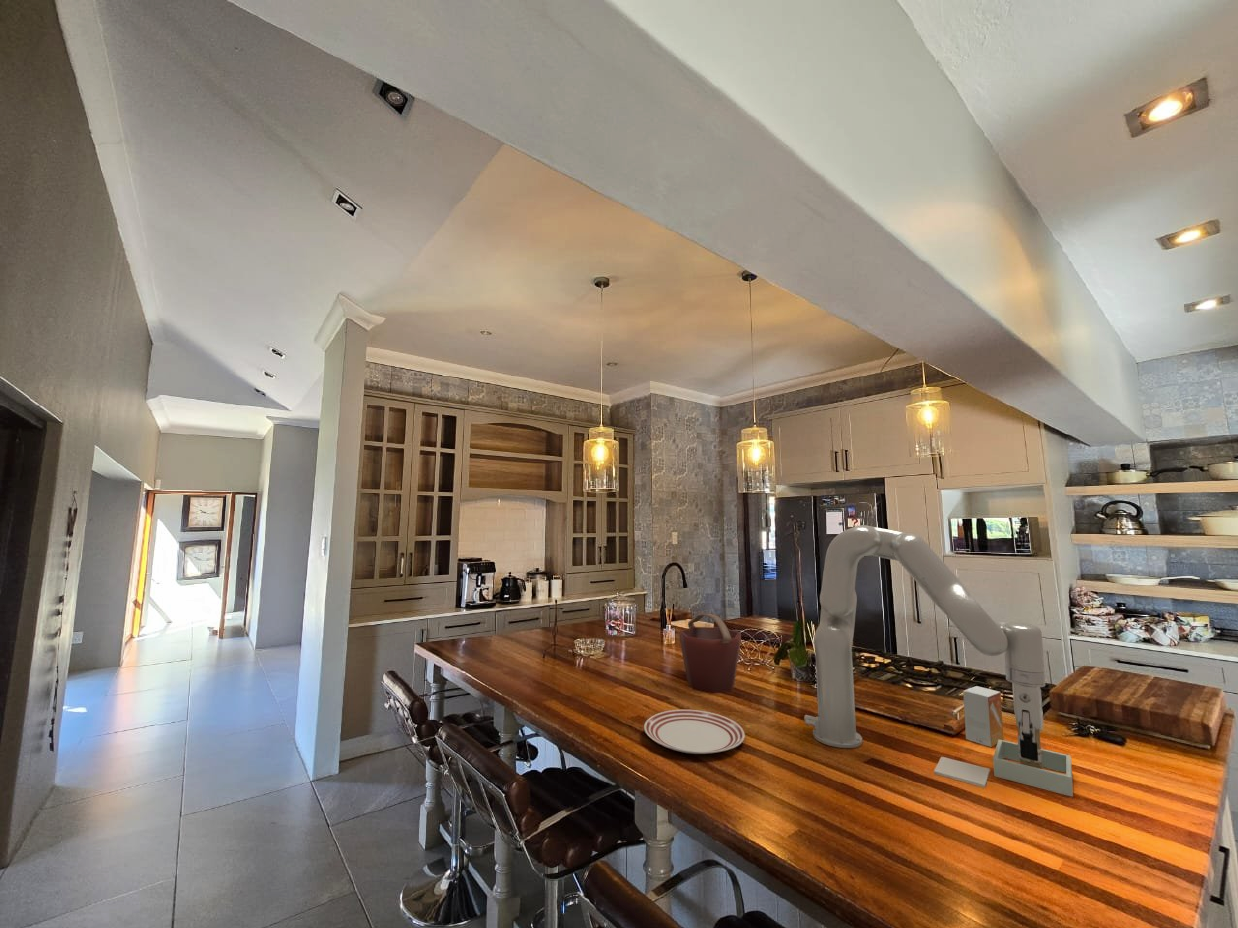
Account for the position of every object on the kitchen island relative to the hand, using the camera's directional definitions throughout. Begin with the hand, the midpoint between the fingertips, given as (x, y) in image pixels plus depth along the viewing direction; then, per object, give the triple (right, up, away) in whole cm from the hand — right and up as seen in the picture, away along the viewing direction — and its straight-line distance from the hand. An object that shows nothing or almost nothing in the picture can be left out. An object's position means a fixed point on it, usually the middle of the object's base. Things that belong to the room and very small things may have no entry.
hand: (1029, 754), depth 123 cm
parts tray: (0, -5, -1) cm, 5 cm away
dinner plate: (-78, -7, +19) cm, 80 cm away
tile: (-16, -5, 0) cm, 17 cm away
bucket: (-64, -12, +65) cm, 92 cm away
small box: (+2, -7, +19) cm, 20 cm away
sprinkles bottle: (0, -5, 0) cm, 5 cm away
